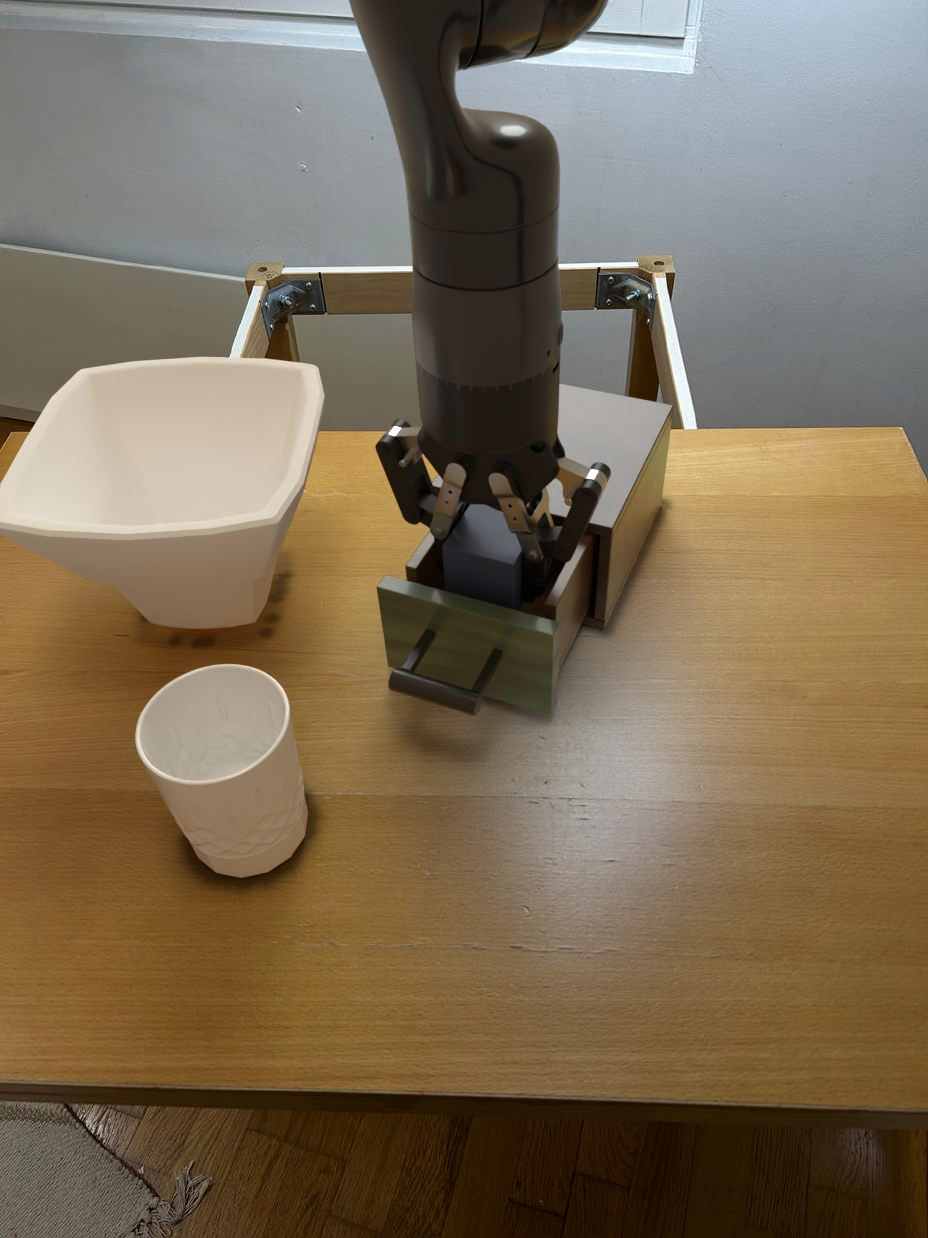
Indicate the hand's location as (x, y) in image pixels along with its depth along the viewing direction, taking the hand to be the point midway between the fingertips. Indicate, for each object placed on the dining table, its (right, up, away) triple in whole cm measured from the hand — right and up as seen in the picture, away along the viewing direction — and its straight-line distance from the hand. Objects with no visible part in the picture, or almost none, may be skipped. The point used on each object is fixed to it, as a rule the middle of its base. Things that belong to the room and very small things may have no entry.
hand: (493, 583), depth 62 cm
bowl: (-20, -1, +9) cm, 22 cm away
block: (0, 0, 0) cm, 0 cm away
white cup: (-14, -15, -5) cm, 21 cm away
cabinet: (+5, +3, +12) cm, 13 cm away
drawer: (0, -4, +3) cm, 5 cm away
